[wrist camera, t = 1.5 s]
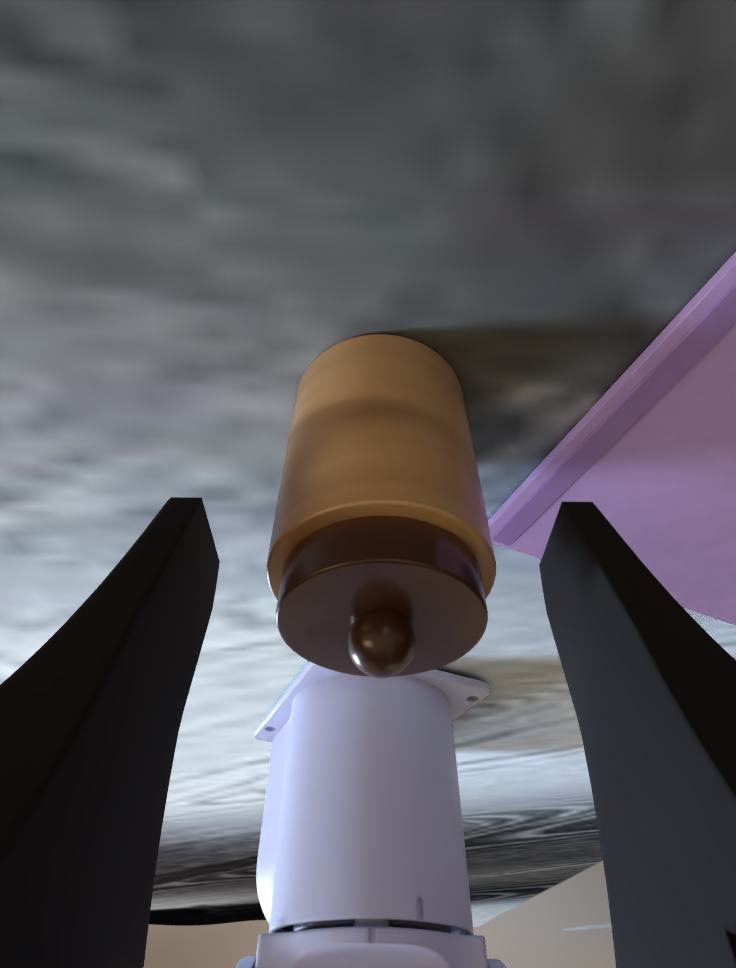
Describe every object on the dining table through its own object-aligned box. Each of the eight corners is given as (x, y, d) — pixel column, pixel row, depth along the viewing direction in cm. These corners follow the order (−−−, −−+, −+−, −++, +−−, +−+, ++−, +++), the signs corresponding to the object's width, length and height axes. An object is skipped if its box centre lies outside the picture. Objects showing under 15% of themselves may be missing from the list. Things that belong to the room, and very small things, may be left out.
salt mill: (412, 488, 17) (430, 744, 12) (272, 438, 16) (218, 700, 10) (496, 375, 14) (572, 642, 9) (335, 303, 13) (306, 564, 8)
